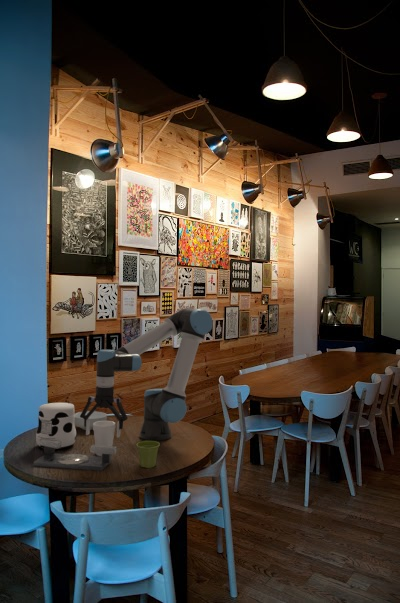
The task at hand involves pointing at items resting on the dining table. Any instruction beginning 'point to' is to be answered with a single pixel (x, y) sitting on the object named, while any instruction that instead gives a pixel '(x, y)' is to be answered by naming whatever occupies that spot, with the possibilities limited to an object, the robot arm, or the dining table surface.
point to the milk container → (57, 423)
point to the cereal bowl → (93, 418)
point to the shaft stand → (74, 457)
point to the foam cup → (104, 433)
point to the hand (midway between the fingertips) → (103, 435)
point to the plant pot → (148, 453)
